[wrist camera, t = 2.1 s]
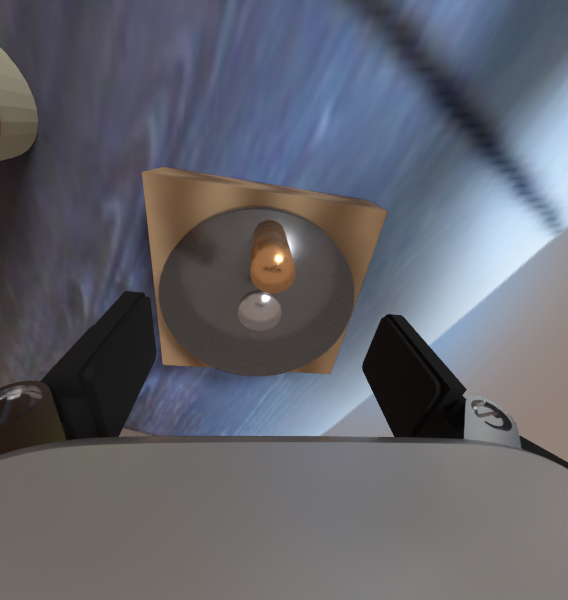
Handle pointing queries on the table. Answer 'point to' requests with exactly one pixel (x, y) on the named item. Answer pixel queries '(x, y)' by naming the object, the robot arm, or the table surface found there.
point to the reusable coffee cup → (15, 111)
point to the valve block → (235, 193)
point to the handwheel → (256, 291)
